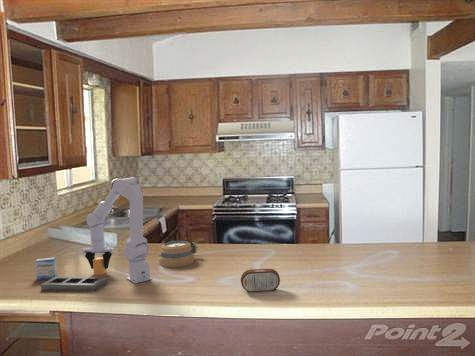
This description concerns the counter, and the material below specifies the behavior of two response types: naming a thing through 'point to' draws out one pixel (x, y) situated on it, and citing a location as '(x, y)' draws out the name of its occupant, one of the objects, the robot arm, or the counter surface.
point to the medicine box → (46, 268)
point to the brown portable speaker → (260, 280)
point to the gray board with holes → (74, 284)
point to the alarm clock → (177, 253)
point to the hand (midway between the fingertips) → (99, 268)
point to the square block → (99, 266)
